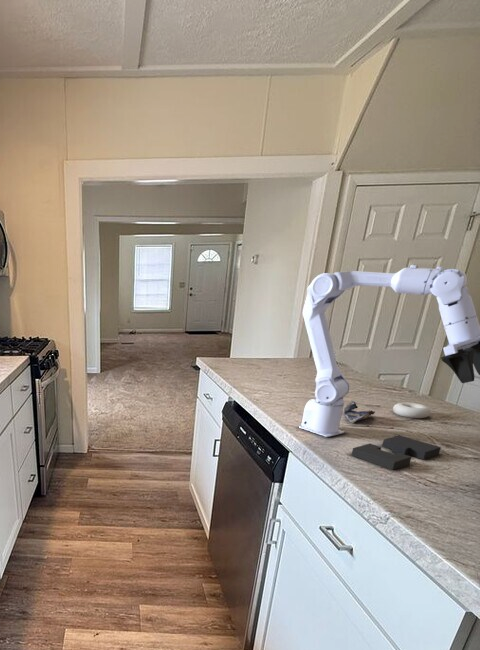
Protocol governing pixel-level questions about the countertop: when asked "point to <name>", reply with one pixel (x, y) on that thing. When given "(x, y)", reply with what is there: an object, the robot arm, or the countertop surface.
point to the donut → (411, 410)
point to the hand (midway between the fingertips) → (476, 377)
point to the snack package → (355, 413)
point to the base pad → (381, 456)
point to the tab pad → (411, 447)
